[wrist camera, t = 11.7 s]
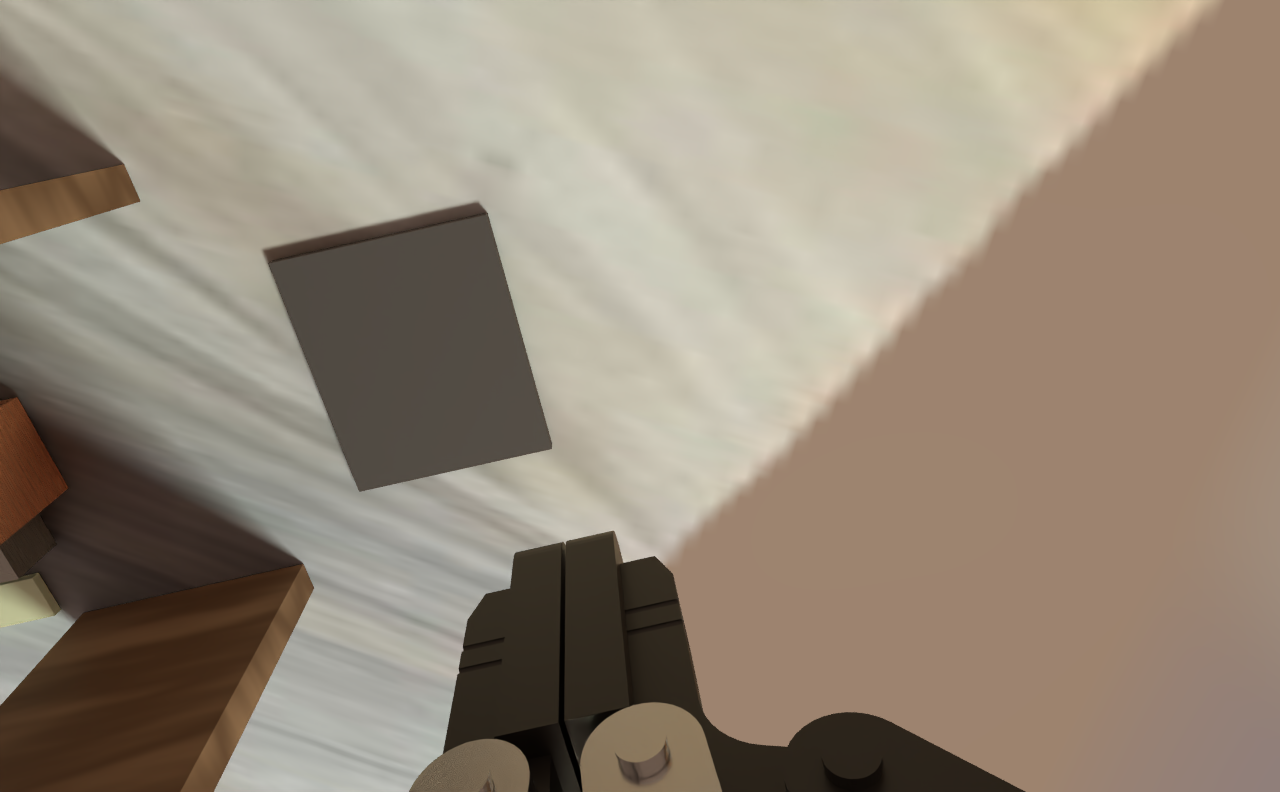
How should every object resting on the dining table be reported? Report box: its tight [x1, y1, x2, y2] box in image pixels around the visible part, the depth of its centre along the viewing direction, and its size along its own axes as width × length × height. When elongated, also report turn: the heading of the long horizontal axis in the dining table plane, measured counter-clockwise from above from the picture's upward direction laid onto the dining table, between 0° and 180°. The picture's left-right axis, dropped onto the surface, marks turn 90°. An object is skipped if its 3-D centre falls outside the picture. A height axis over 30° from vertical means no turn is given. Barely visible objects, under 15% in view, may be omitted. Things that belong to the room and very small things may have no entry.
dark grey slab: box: [269, 213, 552, 492], centre depth 38 cm, size 12×10×1 cm
